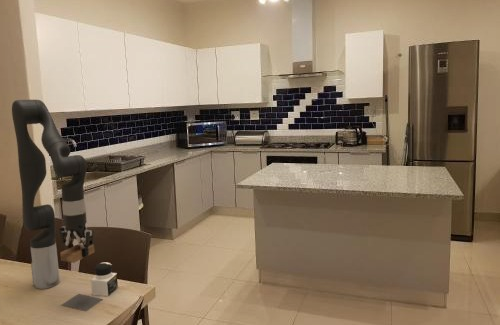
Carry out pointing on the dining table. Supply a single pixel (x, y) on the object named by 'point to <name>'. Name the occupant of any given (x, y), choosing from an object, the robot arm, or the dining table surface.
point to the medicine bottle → (104, 280)
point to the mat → (82, 302)
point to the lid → (74, 253)
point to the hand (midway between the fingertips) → (78, 255)
